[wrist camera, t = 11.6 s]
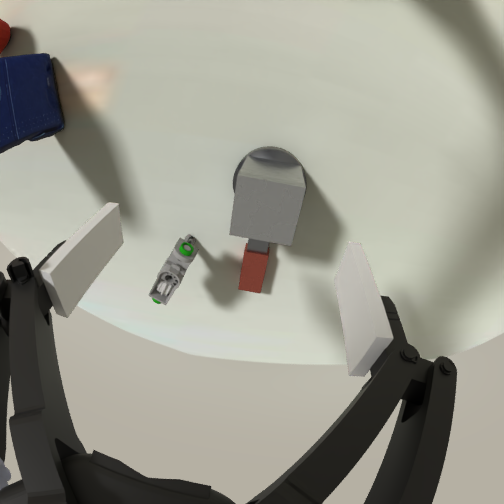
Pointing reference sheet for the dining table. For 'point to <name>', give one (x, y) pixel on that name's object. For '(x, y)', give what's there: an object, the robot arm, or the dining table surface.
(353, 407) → the robot arm
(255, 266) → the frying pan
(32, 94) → the blue box
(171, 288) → the mechanical component
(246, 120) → the dining table surface
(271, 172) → the gray rectangular block
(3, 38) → the apple
